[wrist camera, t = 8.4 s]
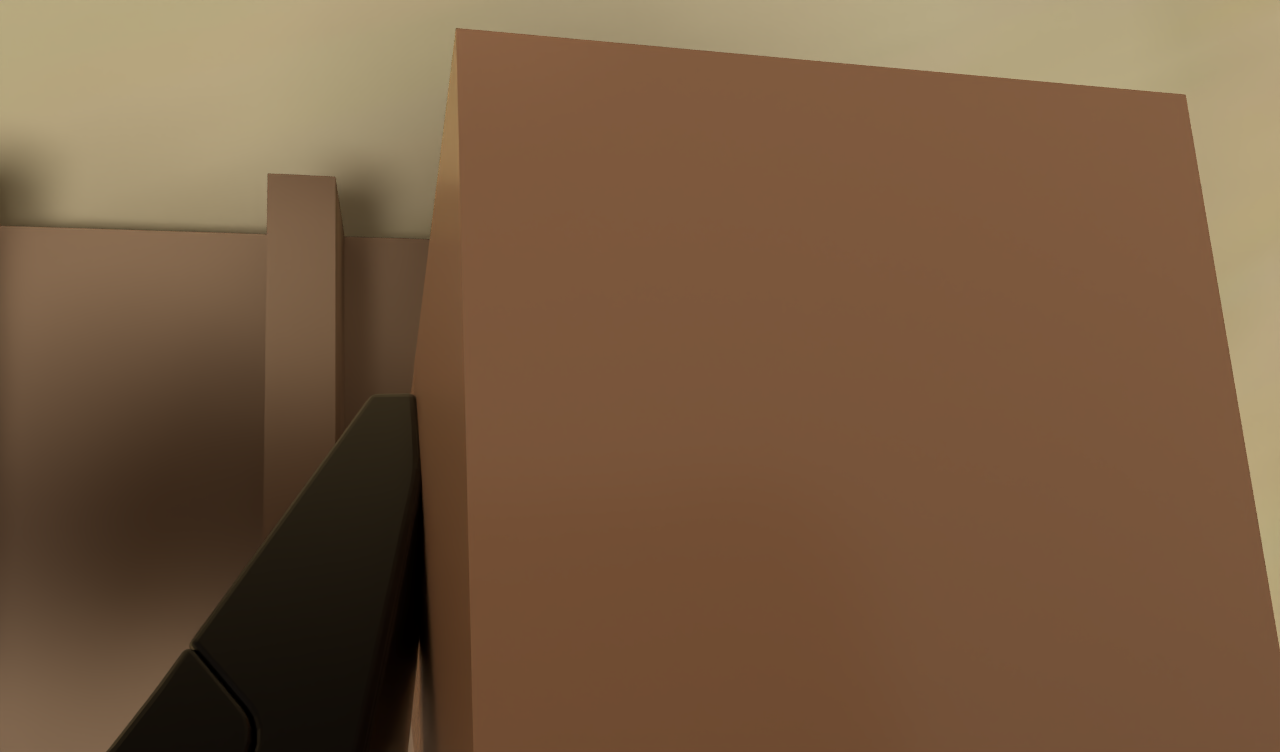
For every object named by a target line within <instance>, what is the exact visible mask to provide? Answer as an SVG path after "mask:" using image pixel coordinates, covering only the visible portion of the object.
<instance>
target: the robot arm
mask: <svg viewBox="0 0 1280 752" xmlns="http://www.w3.org/2000/svg"><path fill="white" fill-rule="evenodd" d="M421 494H422V480H421V462H420V447H419V432H418V418H417V403H416V396H415V395H413V394H410V393H404V394H374V395H372V396H370V397H369V398H368V400H367V401H366V402H365V404H364V405H363V406H362V408H361V409H360V410H359V412H358V413H357V415H356V416H355V417H354V419H353V420H352V421H351V423H350V424H349V425H348V427H347V428H346V430H345V431H344V432H343V434H342V435H341V436H340V438H339V439H338V441H337V442H336V443H335V445H334V446H333V447H332V449H331V450H330V451H329V453H328V454H327V456H326V457H325V458H324V460H323V461H322V462H321V464H320V465H319V467H318V468H317V469H316V471H315V472H314V473H313V475H312V476H311V477H310V479H309V480H308V482H307V483H306V484H305V486H304V487H303V488H302V490H301V491H300V492H299V494H298V495H297V497H296V498H295V499H294V501H293V502H292V503H291V505H290V506H289V508H288V509H287V510H286V512H285V513H284V514H283V516H282V517H281V518H280V520H279V521H278V523H277V524H276V525H275V527H274V528H273V529H272V531H271V532H270V534H269V535H268V536H267V538H266V539H265V540H264V542H263V543H262V544H261V546H260V547H259V549H258V550H257V551H256V553H255V554H254V555H253V557H252V558H251V559H250V561H249V562H248V564H247V565H246V566H245V568H244V569H243V570H242V572H241V573H240V575H239V576H238V577H237V579H236V580H235V581H234V583H233V584H232V585H231V587H230V588H229V590H228V591H227V592H226V594H225V595H224V596H223V598H222V599H221V600H220V602H219V603H218V605H217V606H216V607H215V609H214V610H213V611H212V613H211V614H210V616H209V617H208V618H207V620H206V621H205V622H204V624H203V625H202V626H201V628H200V629H199V631H198V632H197V633H196V635H195V636H194V637H193V639H192V640H191V642H190V644H189V648H190V649H186V650H184V651H183V652H182V653H181V654H180V656H179V657H178V658H177V660H176V661H175V663H174V664H173V665H172V667H171V668H170V669H169V671H168V672H167V674H166V675H165V676H164V678H163V679H162V680H161V682H160V683H159V685H158V686H157V687H156V689H155V690H154V691H153V693H152V694H151V695H150V697H149V698H148V699H147V700H146V702H145V703H144V704H143V705H142V707H141V708H140V709H139V711H138V712H137V713H136V714H135V716H134V717H133V718H132V720H131V721H130V722H129V723H128V725H127V726H126V727H125V728H124V730H123V731H122V732H121V734H120V735H119V736H118V737H117V739H116V740H115V741H114V743H113V744H112V745H111V746H110V748H109V749H108V750H107V751H106V752H408V746H409V736H410V727H411V718H412V708H413V699H414V689H415V680H416V671H417V661H418V652H419V632H420V563H421Z"/></svg>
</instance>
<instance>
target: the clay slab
mask: <svg viewBox="0 0 1280 752" xmlns="http://www.w3.org/2000/svg"><path fill="white" fill-rule="evenodd" d="M411 394H413V395H415V396H416V403H417V418H418V432H419V447H420V462H421V480H422V494H421V563H420V632H419V652H418V661H417V671H416V680H415V689H414V699H413V708H412V718H411V728H412V737H413V747H414V752H1280V649H1279V643H1278V637H1277V631H1276V625H1275V619H1274V613H1273V607H1272V601H1271V596H1270V590H1269V584H1268V578H1267V572H1266V566H1265V560H1264V554H1263V548H1262V543H1261V537H1260V531H1259V525H1258V519H1257V513H1256V507H1255V501H1254V495H1253V490H1252V484H1251V478H1250V472H1249V466H1248V460H1247V454H1246V448H1245V442H1244V436H1243V431H1242V425H1241V419H1240V413H1239V407H1238V401H1237V395H1236V389H1235V383H1234V378H1233V372H1232V366H1231V360H1230V354H1229V348H1228V342H1227V336H1226V330H1225V324H1224V319H1223V313H1222V307H1221V301H1220V295H1219V289H1218V283H1217V277H1216V271H1215V266H1214V260H1213V254H1212V248H1211V242H1210V236H1209V230H1208V224H1207V218H1206V212H1205V207H1204V201H1203V195H1202V189H1201V183H1200V177H1199V171H1198V165H1197V159H1196V154H1195V148H1194V142H1193V136H1192V130H1191V124H1190V118H1189V112H1188V106H1187V100H1186V95H1183V94H1172V93H1161V92H1150V91H1139V90H1128V89H1117V88H1106V87H1095V86H1084V85H1073V84H1062V83H1051V82H1041V81H1030V80H1019V79H1008V78H997V77H986V76H975V75H964V74H953V73H942V72H931V71H920V70H909V69H898V68H887V67H876V66H865V65H854V64H843V63H832V62H821V61H810V60H799V59H789V58H778V57H767V56H756V55H745V54H734V53H723V52H712V51H701V50H690V49H679V48H668V47H657V46H646V45H635V44H624V43H613V42H602V41H591V40H580V39H569V38H558V37H547V36H536V35H525V34H515V33H504V32H493V31H482V30H471V29H460V28H456V32H455V40H454V48H453V56H452V64H451V72H450V80H449V88H448V96H447V104H446V112H445V120H444V129H443V137H442V145H441V153H440V161H439V169H438V177H437V185H436V193H435V201H434V209H433V217H432V225H431V233H430V241H429V249H428V257H427V265H426V273H425V282H424V290H423V298H422V306H421V314H420V322H419V330H418V338H417V346H416V354H415V362H414V370H413V378H412V386H411Z"/></svg>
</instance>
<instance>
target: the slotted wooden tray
mask: <svg viewBox="0 0 1280 752" xmlns="http://www.w3.org/2000/svg"><path fill="white" fill-rule="evenodd" d="M429 241H430V239H408V238H376V237H344V231H343V224H342V217H341V211H340V204H339V198H338V191H337V184H336V178H335V177H330V176H310V175H289V174H268V187H267V234H247V233H215V232H182V231H150V230H118V229H86V228H53V227H21V226H0V752H106V751H107V750H108V749H109V748H110V746H111V745H112V744H113V743H114V741H115V740H116V739H117V737H118V736H119V735H120V734H121V732H122V731H123V730H124V728H125V727H126V726H127V725H128V723H129V722H130V721H131V720H132V718H133V717H134V716H135V714H136V713H137V712H138V711H139V709H140V708H141V707H142V705H143V704H144V703H145V702H146V700H147V699H148V698H149V697H150V695H151V694H152V693H153V691H154V690H155V689H156V687H157V686H158V685H159V683H160V682H161V680H162V679H163V678H164V676H165V675H166V674H167V672H168V671H169V669H170V668H171V667H172V665H173V664H174V663H175V661H176V660H177V658H178V657H179V656H180V654H181V653H182V652H183V651H184V650H186V649H190V648H189V644H190V642H191V640H192V639H193V637H194V636H195V635H196V633H197V632H198V631H199V629H200V628H201V626H202V625H203V624H204V622H205V621H206V620H207V618H208V617H209V616H210V614H211V613H212V611H213V610H214V609H215V607H216V606H217V605H218V603H219V602H220V600H221V599H222V598H223V596H224V595H225V594H226V592H227V591H228V590H229V588H230V587H231V585H232V584H233V583H234V581H235V580H236V579H237V577H238V576H239V575H240V573H241V572H242V570H243V569H244V568H245V566H246V565H247V564H248V562H249V561H250V559H251V558H252V557H253V555H254V554H255V553H256V551H257V550H258V549H259V547H260V546H261V544H262V543H263V542H264V540H265V539H266V538H267V536H268V535H269V534H270V532H271V531H272V529H273V528H274V527H275V525H276V524H277V523H278V521H279V520H280V518H281V517H282V516H283V514H284V513H285V512H286V510H287V509H288V508H289V506H290V505H291V503H292V502H293V501H294V499H295V498H296V497H297V495H298V494H299V492H300V491H301V490H302V488H303V487H304V486H305V484H306V483H307V482H308V480H309V479H310V477H311V476H312V475H313V473H314V472H315V471H316V469H317V468H318V467H319V465H320V464H321V462H322V461H323V460H324V458H325V457H326V456H327V454H328V453H329V451H330V450H331V449H332V447H333V446H334V445H335V443H336V442H337V441H338V439H339V438H340V436H341V435H342V434H343V432H344V431H345V430H346V428H347V427H348V425H349V424H350V423H351V421H352V420H353V419H354V417H355V416H356V415H357V413H358V412H359V410H360V409H361V408H362V406H363V405H364V404H365V402H366V401H367V400H368V398H369V397H370V396H372V395H374V394H404V393H410V394H411V386H412V378H413V370H414V362H415V354H416V346H417V338H418V330H419V322H420V314H421V306H422V298H423V290H424V282H425V273H426V265H427V257H428V249H429ZM408 752H414V747H413V737H412V728H411V727H410V736H409V746H408Z"/></svg>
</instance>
